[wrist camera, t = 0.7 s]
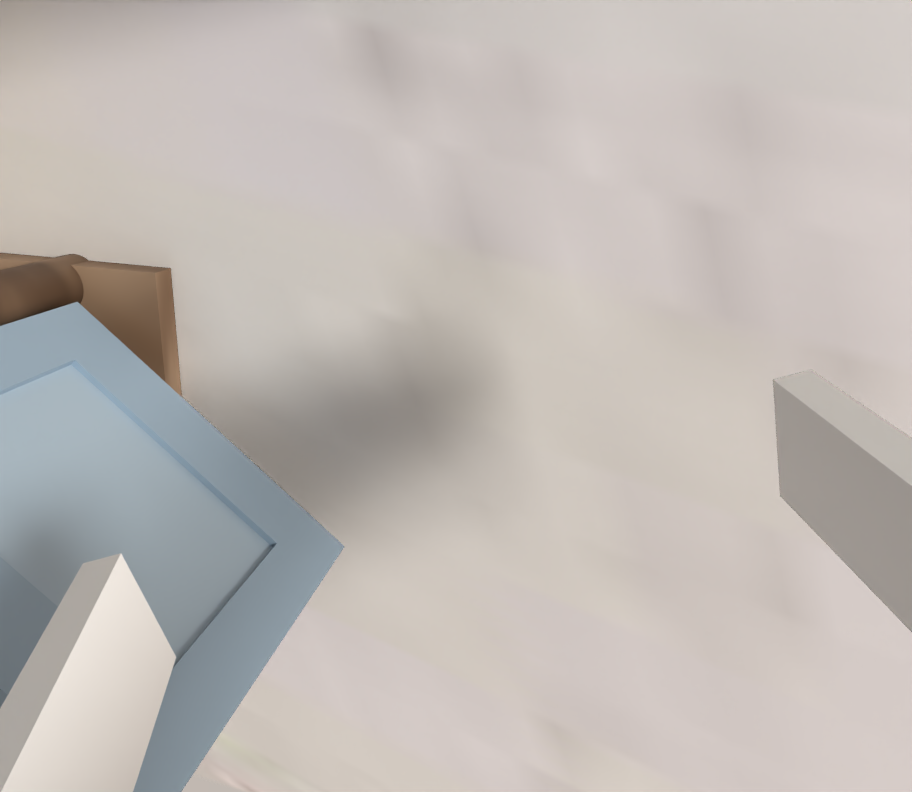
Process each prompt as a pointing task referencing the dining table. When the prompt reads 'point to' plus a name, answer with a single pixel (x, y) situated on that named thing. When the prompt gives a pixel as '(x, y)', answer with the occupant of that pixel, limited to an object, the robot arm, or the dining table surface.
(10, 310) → the gate frame
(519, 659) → the dining table surface
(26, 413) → the panel
